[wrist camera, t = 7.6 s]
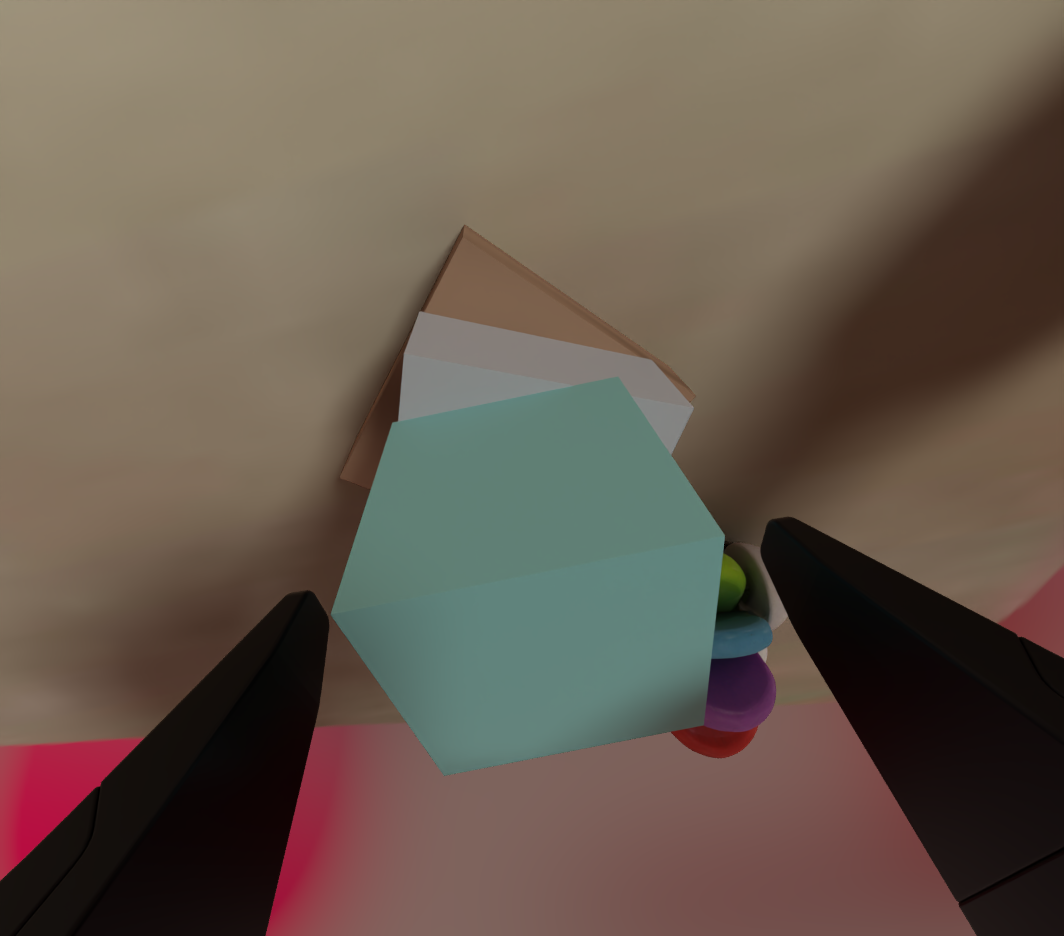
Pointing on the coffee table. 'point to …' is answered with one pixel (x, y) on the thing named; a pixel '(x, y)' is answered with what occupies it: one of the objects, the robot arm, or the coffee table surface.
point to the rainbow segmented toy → (738, 656)
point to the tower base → (499, 301)
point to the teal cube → (534, 579)
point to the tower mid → (522, 372)
